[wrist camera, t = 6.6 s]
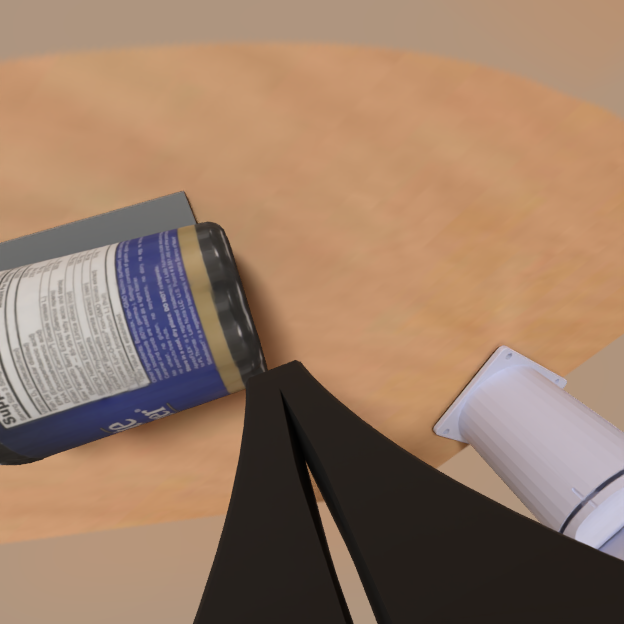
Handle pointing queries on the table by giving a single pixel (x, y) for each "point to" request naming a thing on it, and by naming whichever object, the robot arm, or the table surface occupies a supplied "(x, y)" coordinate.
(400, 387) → the table surface
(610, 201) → the table surface
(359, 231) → the table surface
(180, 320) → the pill bottle
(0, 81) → the table surface
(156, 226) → the rubber mat
